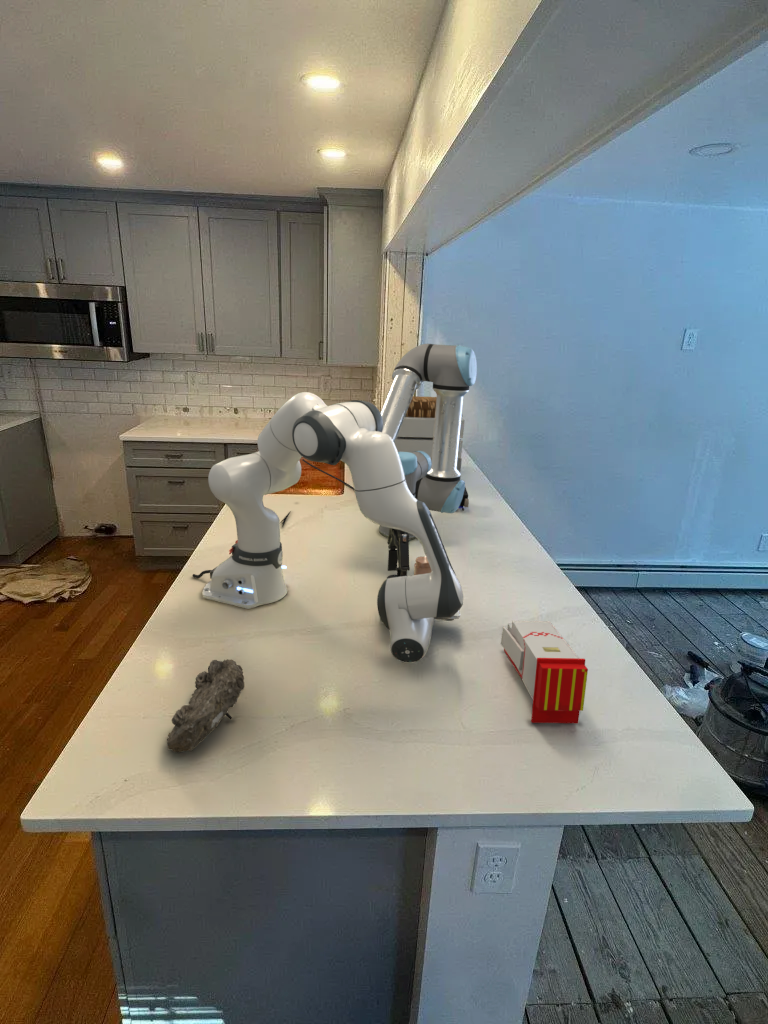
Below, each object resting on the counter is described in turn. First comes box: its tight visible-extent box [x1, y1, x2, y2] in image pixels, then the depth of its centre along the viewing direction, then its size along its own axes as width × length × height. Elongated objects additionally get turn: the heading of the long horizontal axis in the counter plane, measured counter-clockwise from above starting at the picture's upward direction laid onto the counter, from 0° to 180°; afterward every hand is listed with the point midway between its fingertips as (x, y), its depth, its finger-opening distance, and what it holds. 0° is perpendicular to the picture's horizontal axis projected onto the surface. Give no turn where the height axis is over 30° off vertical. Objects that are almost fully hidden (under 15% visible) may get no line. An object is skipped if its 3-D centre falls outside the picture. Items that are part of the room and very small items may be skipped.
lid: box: [386, 574, 397, 579], centre depth 163 cm, size 6×6×2 cm
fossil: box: [166, 658, 245, 754], centre depth 106 cm, size 22×10×15 cm
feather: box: [280, 510, 292, 528], centre depth 213 cm, size 2×28×2 cm
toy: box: [500, 620, 589, 724], centre depth 121 cm, size 12×13×30 cm
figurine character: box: [455, 486, 470, 512], centre depth 229 cm, size 7×8×15 cm
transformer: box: [394, 395, 465, 475], centre depth 268 cm, size 34×33×41 cm
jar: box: [413, 556, 432, 575], centre depth 147 cm, size 5×5×15 cm
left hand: (421, 588), depth 148 cm, fingers closed on jar, 4 cm apart
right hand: (396, 579), depth 163 cm, fingers open, 12 cm apart
